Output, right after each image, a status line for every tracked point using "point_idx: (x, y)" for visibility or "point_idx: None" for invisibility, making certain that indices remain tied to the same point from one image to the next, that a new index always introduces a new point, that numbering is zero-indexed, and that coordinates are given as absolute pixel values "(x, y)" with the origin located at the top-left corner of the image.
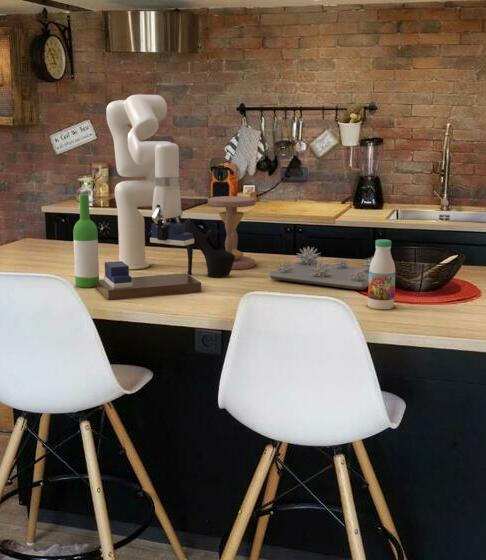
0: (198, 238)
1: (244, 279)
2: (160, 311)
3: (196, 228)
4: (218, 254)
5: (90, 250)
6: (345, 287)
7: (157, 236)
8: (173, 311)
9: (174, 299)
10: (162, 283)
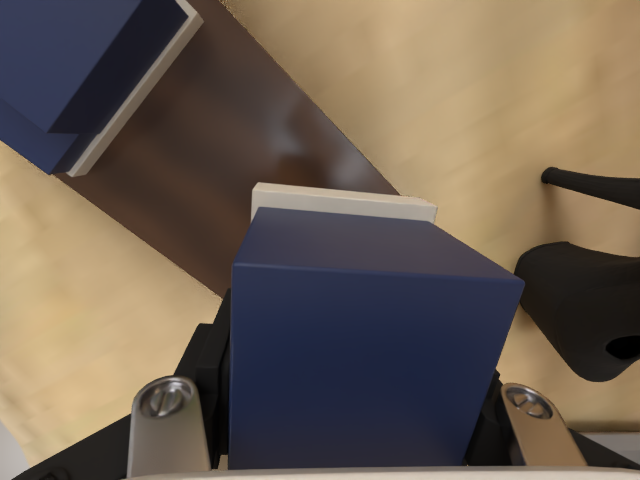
0: None
1: (507, 364)
2: (7, 355)
3: None
4: (580, 346)
5: None
6: None
7: (223, 300)
8: (36, 383)
9: (165, 317)
10: (219, 249)
